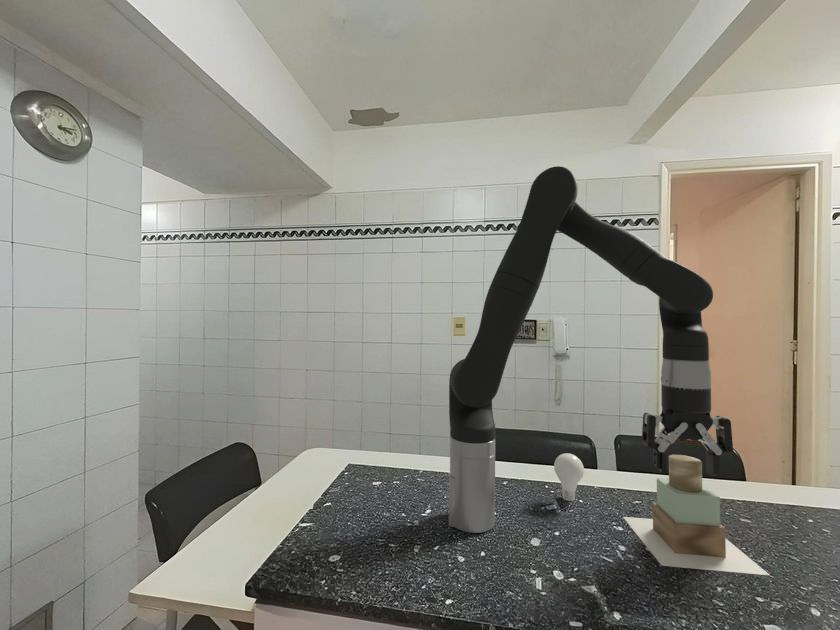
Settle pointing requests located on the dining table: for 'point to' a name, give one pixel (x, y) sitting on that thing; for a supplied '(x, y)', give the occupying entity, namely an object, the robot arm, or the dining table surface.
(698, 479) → the birch cylinder
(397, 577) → the dining table surface
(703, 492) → the sage block
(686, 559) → the base board
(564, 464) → the lightbulb
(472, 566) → the dining table surface
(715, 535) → the walnut block
